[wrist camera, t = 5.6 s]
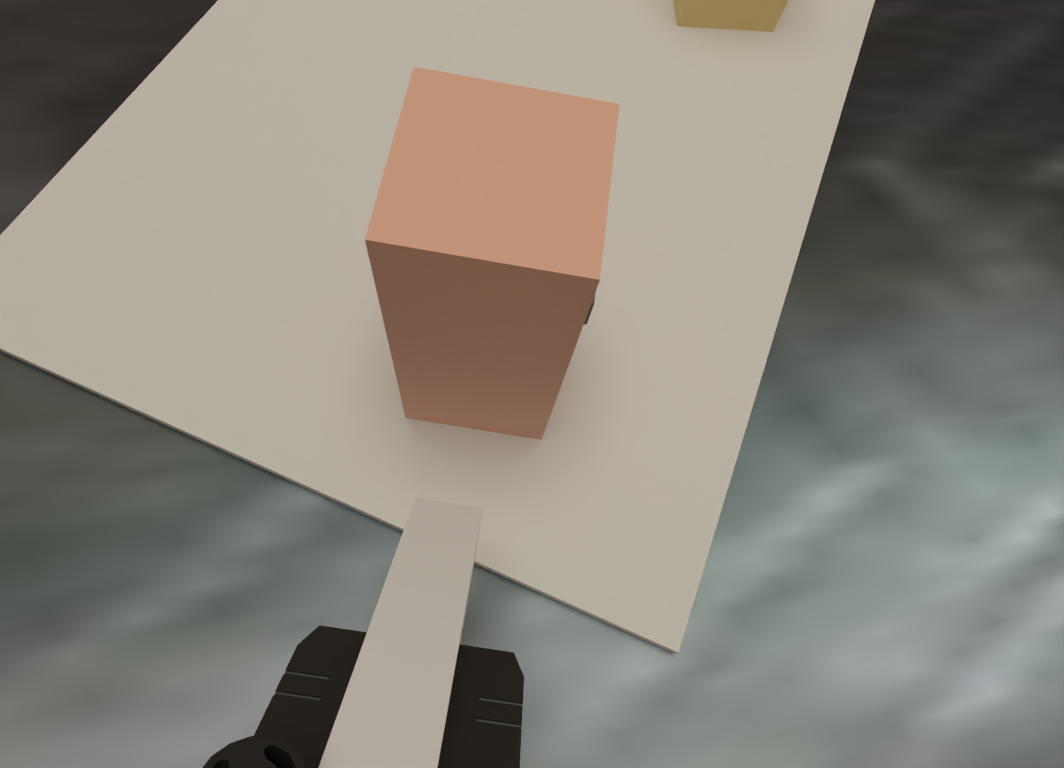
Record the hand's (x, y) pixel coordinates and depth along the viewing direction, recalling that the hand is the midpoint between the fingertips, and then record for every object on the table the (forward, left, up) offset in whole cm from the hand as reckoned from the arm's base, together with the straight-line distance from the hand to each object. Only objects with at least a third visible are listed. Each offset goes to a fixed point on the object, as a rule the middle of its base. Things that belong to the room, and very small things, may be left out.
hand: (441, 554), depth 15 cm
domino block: (+7, +2, -5) cm, 9 cm away
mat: (+19, +6, -6) cm, 21 cm away
